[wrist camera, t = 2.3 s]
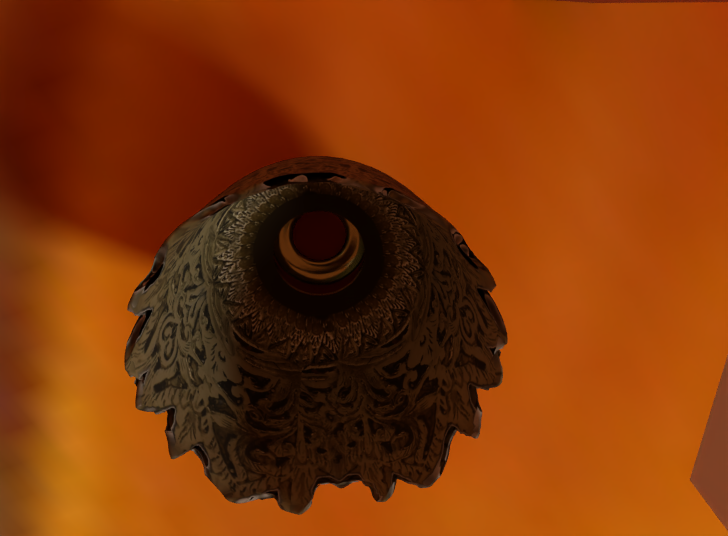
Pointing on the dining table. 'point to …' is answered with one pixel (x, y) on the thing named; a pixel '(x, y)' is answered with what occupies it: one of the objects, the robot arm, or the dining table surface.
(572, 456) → the dining table surface
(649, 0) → the stand
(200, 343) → the brown rounded piece
